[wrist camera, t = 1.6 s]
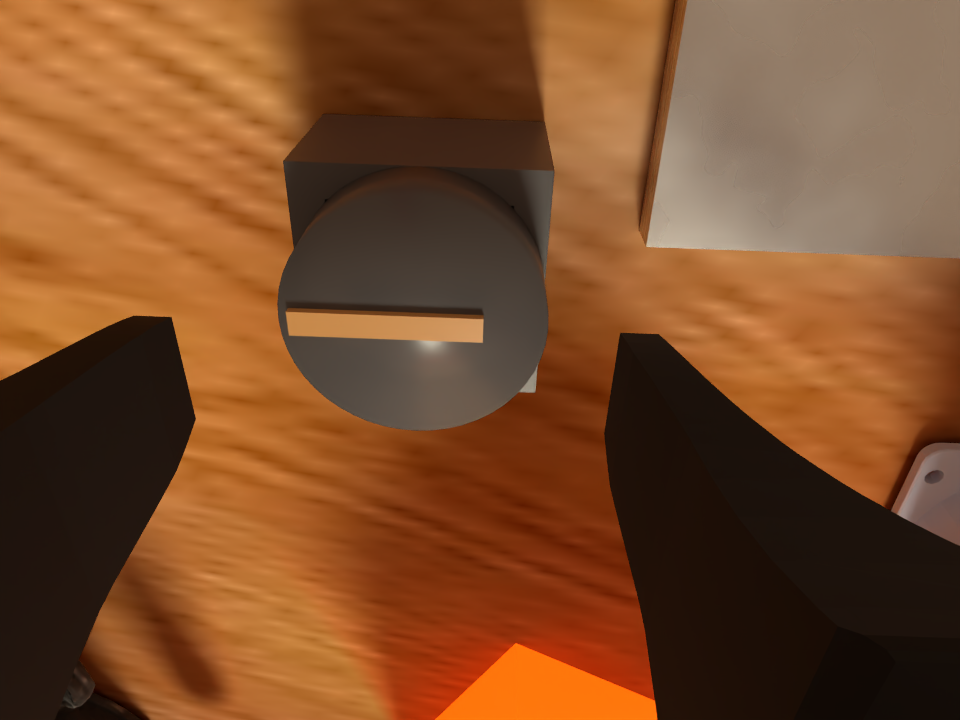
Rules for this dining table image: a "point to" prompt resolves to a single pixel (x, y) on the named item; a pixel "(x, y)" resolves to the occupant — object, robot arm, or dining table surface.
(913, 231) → the flat square panel
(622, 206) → the dining table surface
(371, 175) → the knob
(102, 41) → the dining table surface
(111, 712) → the milk frother
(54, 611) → the robot arm
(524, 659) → the orange juice
